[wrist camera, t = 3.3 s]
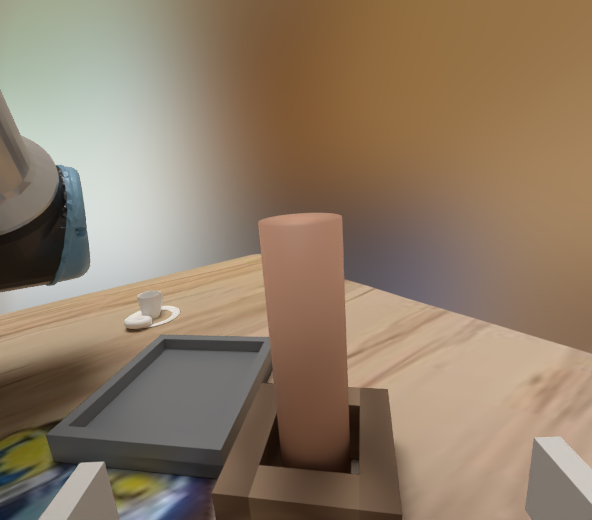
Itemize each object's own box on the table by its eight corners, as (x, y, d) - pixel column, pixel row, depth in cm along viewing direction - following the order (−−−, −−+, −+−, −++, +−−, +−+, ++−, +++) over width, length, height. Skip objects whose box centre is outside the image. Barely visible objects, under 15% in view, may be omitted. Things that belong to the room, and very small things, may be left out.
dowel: (278, 517, 22) (247, 228, 17) (291, 459, 26) (269, 214, 21) (350, 526, 21) (339, 224, 16) (352, 465, 25) (344, 211, 20)
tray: (53, 461, 27) (45, 434, 26) (164, 353, 42) (160, 334, 42) (225, 479, 24) (220, 450, 24) (277, 357, 40) (275, 337, 39)
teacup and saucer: (136, 338, 48) (130, 311, 47) (109, 325, 53) (104, 300, 51) (190, 315, 54) (186, 290, 53) (163, 305, 59) (158, 282, 58)
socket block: (222, 556, 20) (211, 493, 18) (266, 431, 29) (261, 382, 27) (401, 583, 18) (402, 514, 17) (387, 440, 27) (387, 389, 26)
